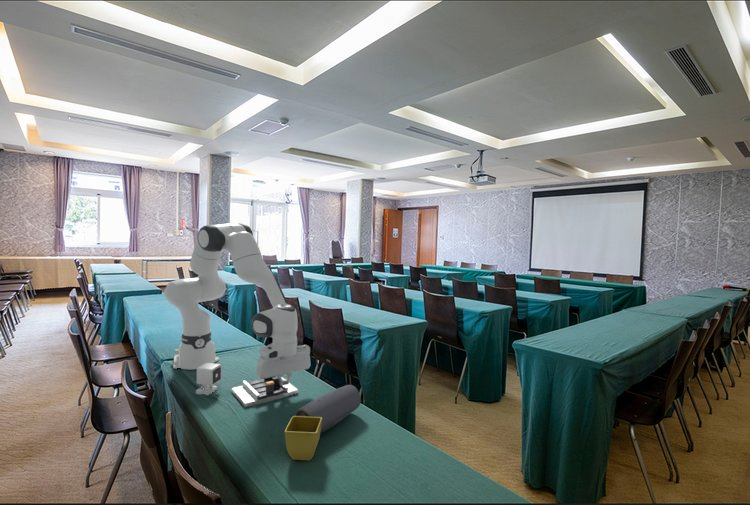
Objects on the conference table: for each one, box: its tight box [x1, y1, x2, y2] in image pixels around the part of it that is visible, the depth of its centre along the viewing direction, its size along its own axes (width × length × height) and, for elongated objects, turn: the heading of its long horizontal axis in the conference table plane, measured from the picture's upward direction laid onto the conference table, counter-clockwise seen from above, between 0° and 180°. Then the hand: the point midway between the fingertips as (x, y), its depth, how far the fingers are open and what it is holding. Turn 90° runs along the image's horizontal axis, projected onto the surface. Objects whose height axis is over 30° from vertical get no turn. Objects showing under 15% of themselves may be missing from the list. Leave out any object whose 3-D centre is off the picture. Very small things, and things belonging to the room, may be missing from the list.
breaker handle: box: [266, 381, 274, 393], centre depth 138 cm, size 2×2×4 cm
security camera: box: [195, 363, 223, 396], centre depth 143 cm, size 6×7×10 cm
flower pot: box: [284, 415, 322, 461], centre depth 105 cm, size 9×9×9 cm
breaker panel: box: [231, 376, 299, 408], centre depth 143 cm, size 15×20×6 cm
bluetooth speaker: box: [294, 384, 362, 433], centre depth 121 cm, size 23×9×10 cm, turn 145°
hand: (284, 384), depth 142 cm, fingers closed
